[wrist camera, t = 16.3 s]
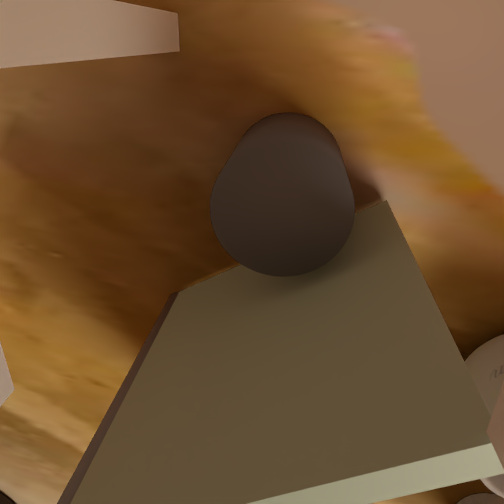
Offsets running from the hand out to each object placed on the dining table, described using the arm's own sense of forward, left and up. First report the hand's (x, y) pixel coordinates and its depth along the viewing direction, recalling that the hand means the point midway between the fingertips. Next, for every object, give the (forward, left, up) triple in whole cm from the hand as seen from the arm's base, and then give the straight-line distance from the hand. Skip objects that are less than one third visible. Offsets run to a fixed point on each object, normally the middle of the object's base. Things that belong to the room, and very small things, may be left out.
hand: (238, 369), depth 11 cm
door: (0, -6, -18) cm, 19 cm away
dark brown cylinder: (0, 0, -19) cm, 19 cm away
